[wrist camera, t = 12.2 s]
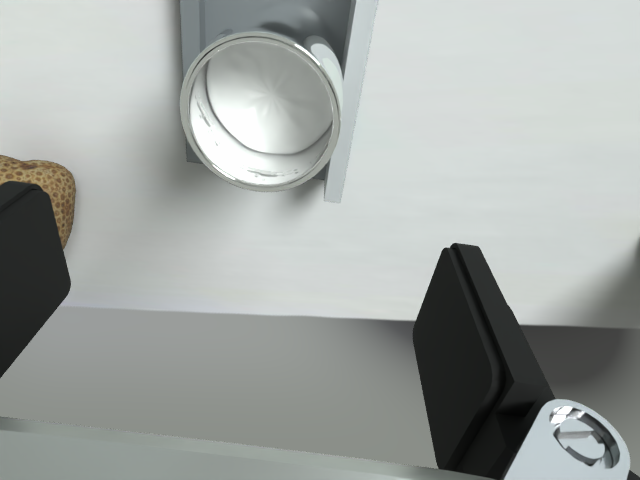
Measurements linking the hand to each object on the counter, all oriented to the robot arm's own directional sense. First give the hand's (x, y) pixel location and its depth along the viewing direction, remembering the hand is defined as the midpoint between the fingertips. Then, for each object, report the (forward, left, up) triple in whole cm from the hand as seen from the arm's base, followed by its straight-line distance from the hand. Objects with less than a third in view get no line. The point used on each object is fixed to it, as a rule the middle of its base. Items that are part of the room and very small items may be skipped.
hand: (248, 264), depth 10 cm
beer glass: (+1, -1, -24) cm, 24 cm away
